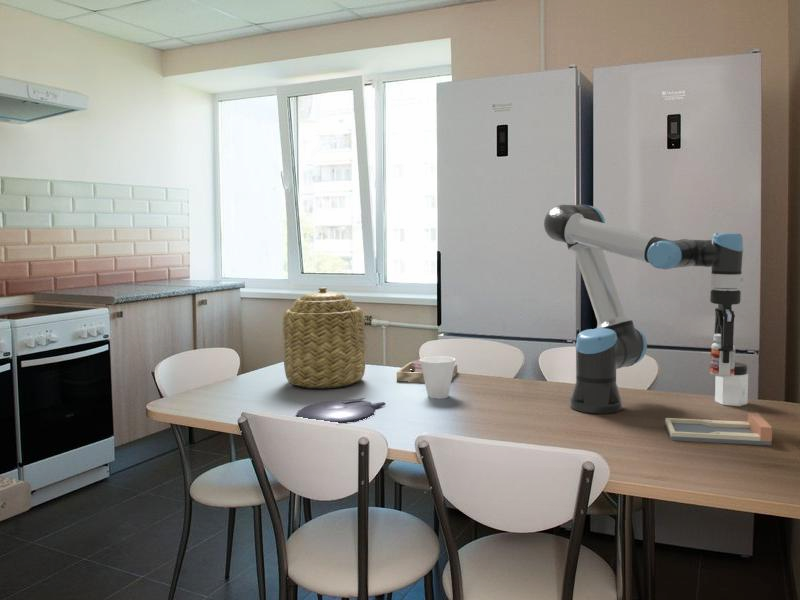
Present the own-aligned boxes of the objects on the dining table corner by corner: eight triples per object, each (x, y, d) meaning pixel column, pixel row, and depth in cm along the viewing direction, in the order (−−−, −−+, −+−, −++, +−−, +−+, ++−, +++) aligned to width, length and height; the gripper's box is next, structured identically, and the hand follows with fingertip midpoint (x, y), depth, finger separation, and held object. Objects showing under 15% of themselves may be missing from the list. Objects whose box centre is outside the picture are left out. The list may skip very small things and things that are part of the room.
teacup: (428, 382, 249) (428, 365, 249) (400, 379, 255) (399, 362, 255) (443, 375, 259) (443, 359, 259) (416, 373, 266) (415, 357, 265)
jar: (735, 407, 204) (736, 368, 203) (710, 402, 211) (711, 364, 210) (752, 403, 209) (753, 364, 208) (726, 398, 216) (727, 360, 215)
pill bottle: (707, 375, 191) (708, 335, 190) (713, 371, 196) (715, 332, 195) (730, 378, 187) (732, 337, 186) (736, 374, 192) (738, 334, 191)
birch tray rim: (396, 381, 250) (396, 372, 250) (409, 371, 269) (409, 362, 268) (447, 383, 246) (447, 373, 245) (457, 372, 264) (457, 363, 263)
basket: (297, 373, 269) (294, 284, 265) (373, 374, 264) (370, 283, 261) (273, 391, 239) (269, 291, 236) (357, 392, 235) (354, 290, 231)
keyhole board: (671, 440, 174) (671, 422, 174) (665, 425, 188) (665, 408, 187) (771, 445, 168) (772, 427, 168) (757, 429, 182) (758, 412, 182)
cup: (415, 399, 223) (414, 361, 222) (427, 391, 234) (426, 355, 233) (449, 401, 219) (449, 363, 218) (460, 393, 230) (460, 356, 229)
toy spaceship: (350, 398, 227) (350, 389, 227) (401, 411, 210) (401, 400, 210) (279, 415, 208) (279, 405, 208) (329, 430, 191) (329, 419, 191)
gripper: (748, 292, 179) (744, 379, 181) (733, 286, 197) (729, 365, 200) (717, 292, 181) (713, 378, 183) (705, 285, 199) (701, 364, 202)
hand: (722, 371), depth 191 cm, fingers closed on pill bottle, 6 cm apart
